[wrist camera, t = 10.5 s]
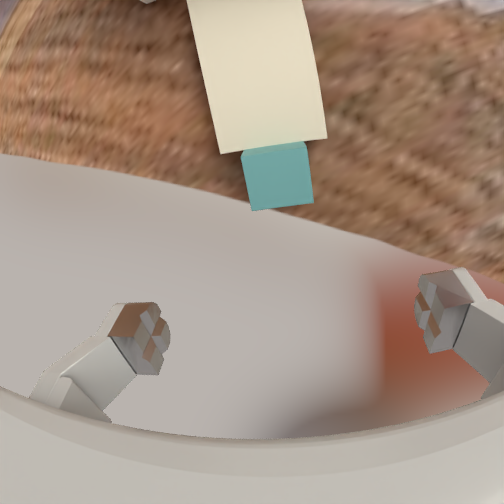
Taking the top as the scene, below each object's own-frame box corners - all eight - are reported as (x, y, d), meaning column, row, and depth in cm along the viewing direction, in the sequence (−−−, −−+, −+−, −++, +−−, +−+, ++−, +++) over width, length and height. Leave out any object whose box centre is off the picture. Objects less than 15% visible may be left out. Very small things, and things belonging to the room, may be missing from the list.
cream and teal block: (286, -43, 13) (288, -64, 10) (329, 182, 23) (338, 199, 20) (185, -24, 15) (170, -41, 11) (234, 195, 25) (227, 214, 21)
